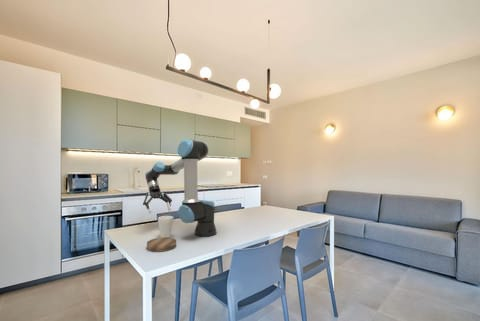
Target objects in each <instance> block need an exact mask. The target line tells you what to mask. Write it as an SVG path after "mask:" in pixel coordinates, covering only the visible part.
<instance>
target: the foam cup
mask: <svg viewBox="0 0 480 321" xmlns="http://www.w3.org/2000/svg"><path fill="white" fill-rule="evenodd" d="M157 220H158V228H159V229H158V230H159V238H164V237H168V238H171V235H172V230H173V229H172V228H173V222H174V216H173V215H162V216H159V217H158V219H157Z"/></svg>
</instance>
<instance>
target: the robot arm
mask: <svg viewBox="0 0 480 321" xmlns="http://www.w3.org/2000/svg"><path fill="white" fill-rule="evenodd" d="M177 154H178V156H180V158H179V159H177V160H176V161H174V162H173V163H171V164H164V163H163V162H161V161H157V162H155V164H154V165H153V166H152V168H151V169H150V170H148V171H146V172H145V180H146V183H147V187H148V191H149V192H146V193H145V198H144V200H143V203H142V205H143V206H145V208H146V209H147V210H148V214H151V213H152V207H151V204H150V202H151V201H152V200H153V199H154V200H155V199H160V200H162V201H163V202H165V203H166V207H167V209H168V212H170V211H171V210H172V208H171V206H172V204H171V203H172V201H173V199H172V198H171V197H169V195H168V194H167V193H166V191H163V192H161V188H160V185H159V182H158V179H159V177H160V176H165V175H166V176H167V175H170V176H174V175H175V176H176V175H178V174H179V172H180V171H181V170H182V169H183V179H184V180H183V182H184V183H183V185H184V186H183V187H184V188H183V189H184V193H183V194H184V197H183V198H184V199H183V200H182V202H181V205H180V206H179V208H178V211H177V212H178V213H177V214H178V217H179V220H181V221H182V222H183V223H185V224H191V223H195V222H196V226H195V229H194V235H195V236H196V237H201V238H202V237H204V238H205V237H213V236H215V235H216V234H217V228H216V225H215V202H214V201H212V200H205V199H204V200H200V199H199V196H198V195H199V194H198V191H199V186H198V162H200V161H202V160H203V159H205V158H206V157H207V156H208V154H209V147H208V145H207V144H206V142H203V141H201V140H200V141H198V140H193V139H183V140H181V142H180V143H179V144H178V147H177ZM149 197H150V198H149ZM147 199H148V200H147Z"/></svg>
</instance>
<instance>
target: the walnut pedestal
mask: <svg viewBox="0 0 480 321" xmlns="http://www.w3.org/2000/svg"><path fill="white" fill-rule="evenodd" d="M176 247H177V239H175V238H174V237H170V238H168V237H164V238H160V237H156V238H152V239H150V240H147V242H146V250H147V251H149V252H152V253H162V252H168V251H172V250H174V249H176Z"/></svg>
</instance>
